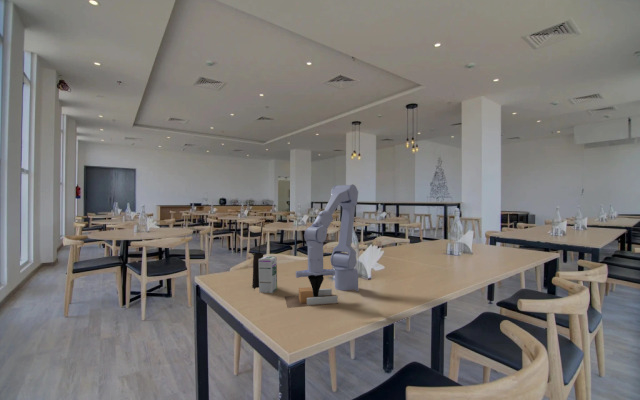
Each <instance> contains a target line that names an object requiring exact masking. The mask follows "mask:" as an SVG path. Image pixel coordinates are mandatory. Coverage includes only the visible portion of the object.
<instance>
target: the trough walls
mask: <svg viewBox="0 0 640 400" xmlns="http://www.w3.org/2000/svg"><path fill="white" fill-rule="evenodd" d="M323 295H332V296H326V297H312V298H307V305H315V304H328V303H338V304H339V302H338V300H339V296H338V295H333V289H332V288H320V289H319V293H318V296H323ZM313 296H314V295H313Z"/></svg>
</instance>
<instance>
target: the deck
mask: <svg viewBox="0 0 640 400" xmlns="http://www.w3.org/2000/svg"><path fill="white" fill-rule="evenodd" d="M326 296H333V294H332V295H323V296H317V297H326ZM313 297H314V296H313ZM284 299H285V304H286V307H287V308H288V309H289V308H301V307H316V306H326V305H328V306H329V305H339V302H338V303H328V304H315V305H307V302H305V303H300V300H299V295H287V296H284Z"/></svg>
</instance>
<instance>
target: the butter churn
mask: <svg viewBox="0 0 640 400" xmlns="http://www.w3.org/2000/svg"><path fill="white" fill-rule="evenodd" d="M263 225H264V223H263V222H261V227H260V235H259V236H260V237H259V244H258V252H256V253H253V252H251V255H252V257H253V260H252V285H251V287H252V288H254V289H256V288H257V289H259V259H261V258H263V257H264V253H262V252H261V250H260V249H261V243H262V237H263V236H262V235H263V234H262V233H263Z"/></svg>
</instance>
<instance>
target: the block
mask: <svg viewBox="0 0 640 400" xmlns="http://www.w3.org/2000/svg"><path fill="white" fill-rule="evenodd" d="M298 296H299V300H300V303H305V302H307V298H312V297H313V290H312V286H309V287H298Z"/></svg>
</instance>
